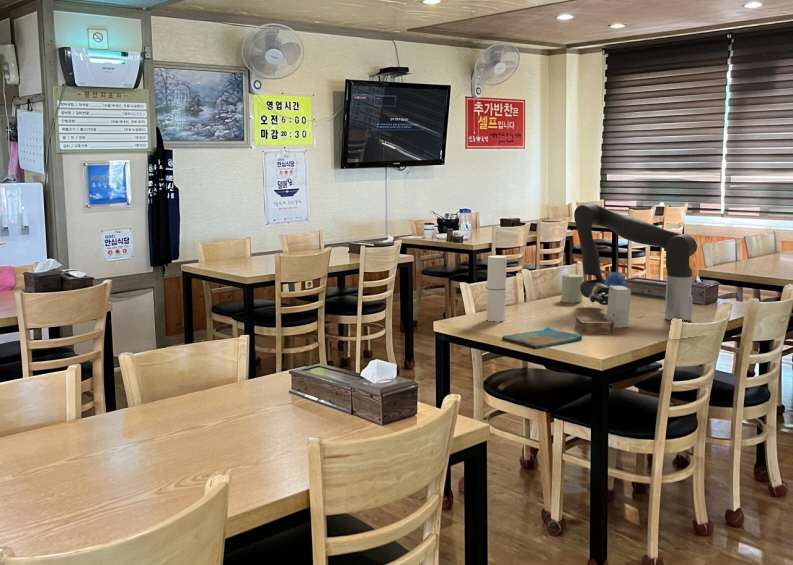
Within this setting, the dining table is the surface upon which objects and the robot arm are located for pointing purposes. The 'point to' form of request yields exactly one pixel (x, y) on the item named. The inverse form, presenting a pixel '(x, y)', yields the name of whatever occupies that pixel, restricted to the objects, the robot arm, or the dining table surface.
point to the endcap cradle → (595, 326)
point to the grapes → (615, 280)
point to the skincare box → (618, 305)
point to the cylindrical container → (496, 288)
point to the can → (571, 288)
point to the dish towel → (542, 338)
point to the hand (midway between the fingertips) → (613, 301)
